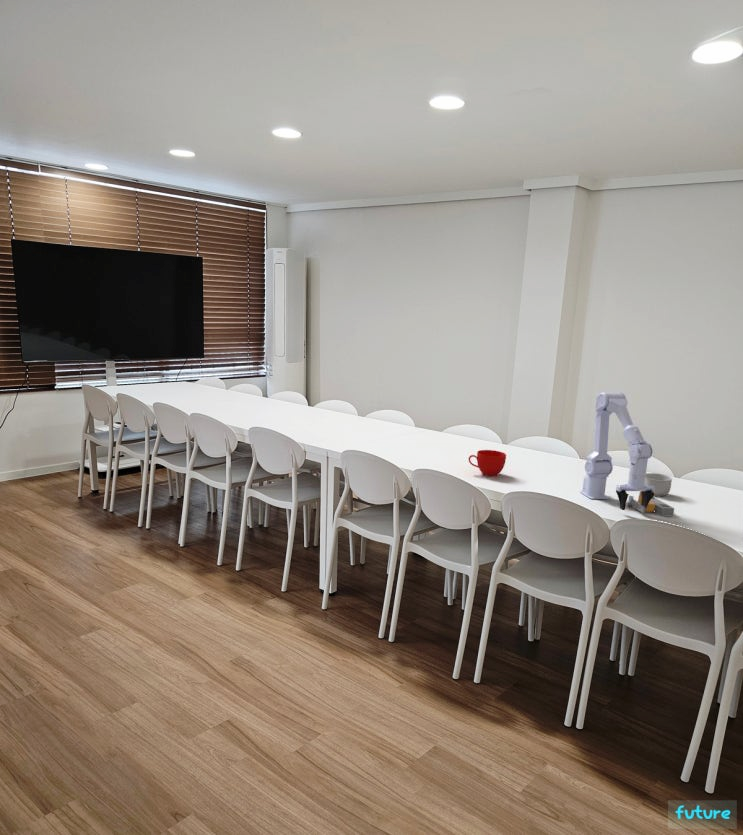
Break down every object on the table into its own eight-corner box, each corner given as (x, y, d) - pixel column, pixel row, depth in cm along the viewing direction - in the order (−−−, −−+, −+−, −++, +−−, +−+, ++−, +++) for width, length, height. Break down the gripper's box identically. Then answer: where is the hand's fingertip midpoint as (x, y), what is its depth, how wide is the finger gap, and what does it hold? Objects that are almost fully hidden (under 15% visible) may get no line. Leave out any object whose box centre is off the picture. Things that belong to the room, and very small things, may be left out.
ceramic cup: (463, 470, 286) (465, 449, 284) (499, 471, 287) (501, 450, 286) (471, 478, 273) (472, 456, 271) (508, 478, 275) (510, 457, 273)
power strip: (637, 502, 251) (638, 494, 250) (649, 502, 251) (650, 494, 251) (661, 515, 235) (662, 507, 235) (673, 515, 236) (674, 507, 235)
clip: (627, 505, 245) (628, 495, 244) (631, 505, 245) (632, 495, 244) (641, 515, 233) (642, 505, 233) (645, 515, 234) (646, 505, 233)
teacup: (675, 497, 260) (678, 479, 259) (652, 498, 258) (655, 479, 256) (653, 488, 273) (656, 470, 272) (632, 488, 271) (634, 470, 270)
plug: (635, 508, 242) (637, 491, 241) (648, 508, 243) (650, 491, 242) (640, 511, 238) (643, 494, 237) (654, 511, 239) (656, 494, 238)
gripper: (625, 477, 227) (620, 512, 229) (661, 478, 229) (656, 512, 231) (615, 472, 234) (610, 506, 236) (650, 472, 236) (645, 506, 238)
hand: (632, 509), depth 234 cm, fingers open, 7 cm apart
